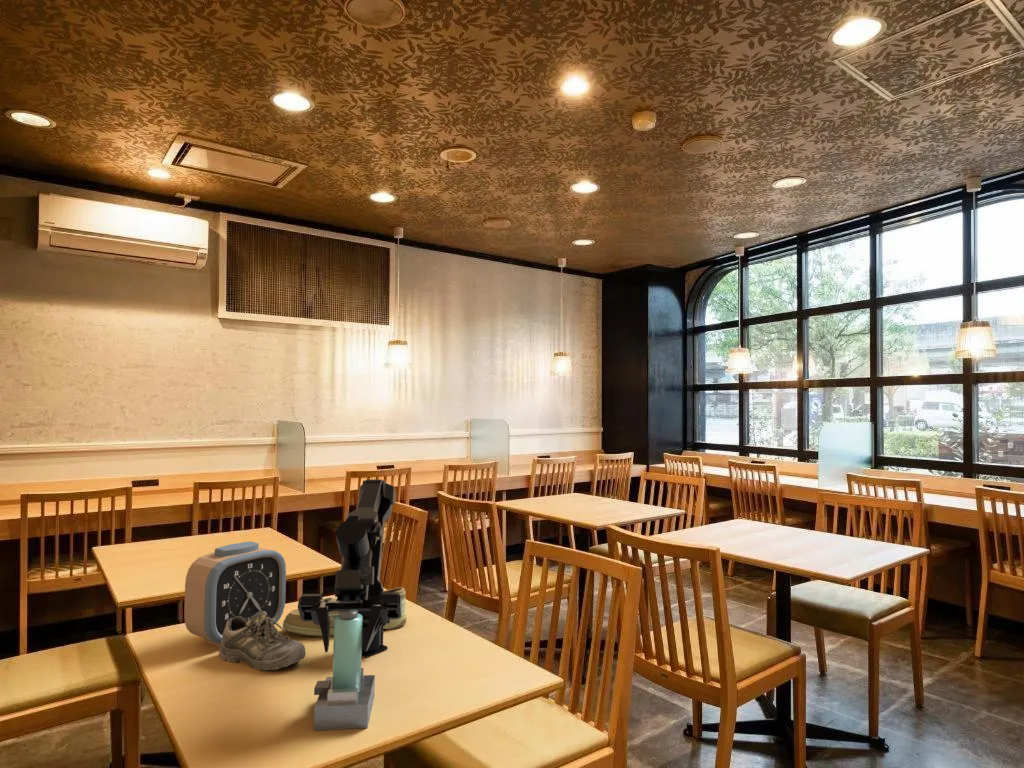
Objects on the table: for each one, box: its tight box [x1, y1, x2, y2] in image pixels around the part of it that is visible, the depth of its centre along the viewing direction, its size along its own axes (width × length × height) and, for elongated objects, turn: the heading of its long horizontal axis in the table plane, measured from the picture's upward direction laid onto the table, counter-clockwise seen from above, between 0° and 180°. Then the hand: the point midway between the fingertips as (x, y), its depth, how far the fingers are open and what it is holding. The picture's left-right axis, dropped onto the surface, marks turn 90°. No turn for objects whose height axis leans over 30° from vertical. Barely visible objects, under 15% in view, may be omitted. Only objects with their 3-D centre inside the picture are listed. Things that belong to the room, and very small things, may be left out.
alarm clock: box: [183, 541, 287, 648], centre depth 151 cm, size 21×10×22 cm, turn 148°
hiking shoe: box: [218, 611, 307, 671], centre depth 138 cm, size 9×21×12 cm
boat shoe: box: [282, 587, 408, 638], centre depth 159 cm, size 11×30×9 cm, turn 109°
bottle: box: [332, 609, 363, 692], centre depth 116 cm, size 5×5×14 cm
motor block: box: [313, 667, 376, 731], centre depth 115 cm, size 12×10×6 cm
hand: (345, 651), depth 114 cm, fingers open, 7 cm apart
